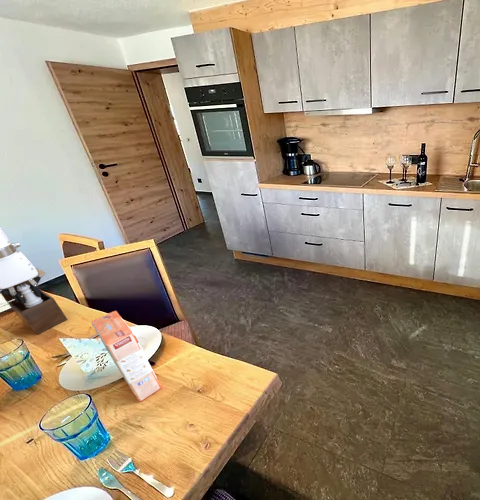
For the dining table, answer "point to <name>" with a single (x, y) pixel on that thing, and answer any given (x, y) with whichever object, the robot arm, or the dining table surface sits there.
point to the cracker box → (127, 354)
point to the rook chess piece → (28, 296)
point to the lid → (10, 297)
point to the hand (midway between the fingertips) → (30, 298)
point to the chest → (39, 314)
